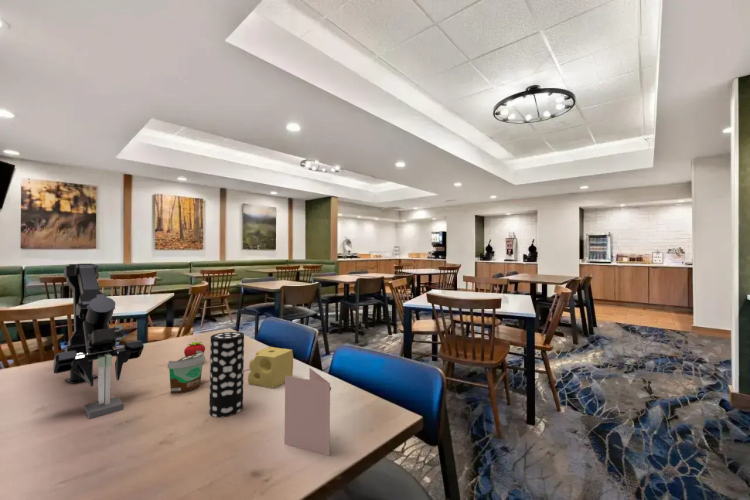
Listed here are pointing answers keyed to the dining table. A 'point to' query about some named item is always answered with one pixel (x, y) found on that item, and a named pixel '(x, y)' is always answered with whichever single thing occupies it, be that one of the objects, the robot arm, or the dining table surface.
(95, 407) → the stand
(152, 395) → the dining table surface
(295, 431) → the greeting card
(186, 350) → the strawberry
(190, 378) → the food container
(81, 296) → the robot arm
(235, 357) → the white-spotted black cylinder
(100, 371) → the swinging tong arm
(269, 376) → the cheese
